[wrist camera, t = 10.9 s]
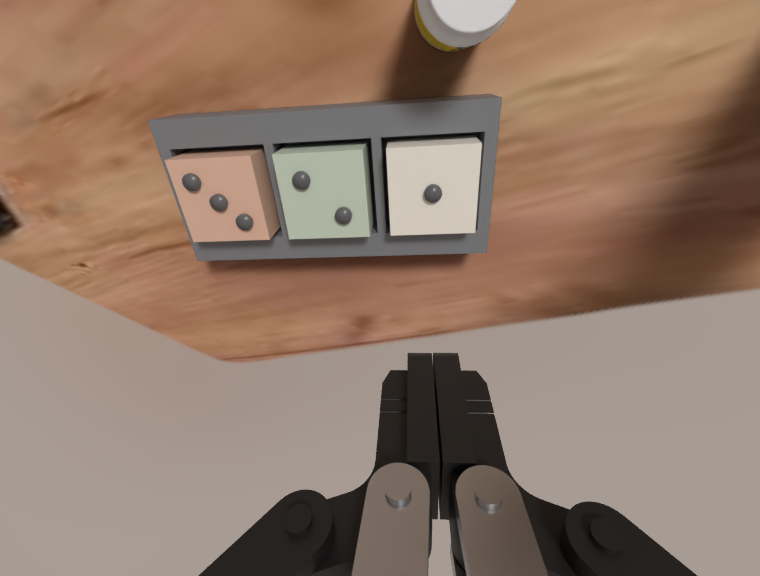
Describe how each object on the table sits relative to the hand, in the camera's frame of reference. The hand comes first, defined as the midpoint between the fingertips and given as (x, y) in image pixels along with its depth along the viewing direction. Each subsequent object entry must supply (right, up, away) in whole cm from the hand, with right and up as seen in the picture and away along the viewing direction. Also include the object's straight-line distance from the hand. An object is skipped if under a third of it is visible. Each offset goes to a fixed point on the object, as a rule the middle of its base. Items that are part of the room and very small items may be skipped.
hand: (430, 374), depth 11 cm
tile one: (+2, +10, +14) cm, 18 cm away
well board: (-5, +11, +17) cm, 21 cm away
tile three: (-12, +10, +15) cm, 22 cm away
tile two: (-5, +10, +15) cm, 19 cm away
